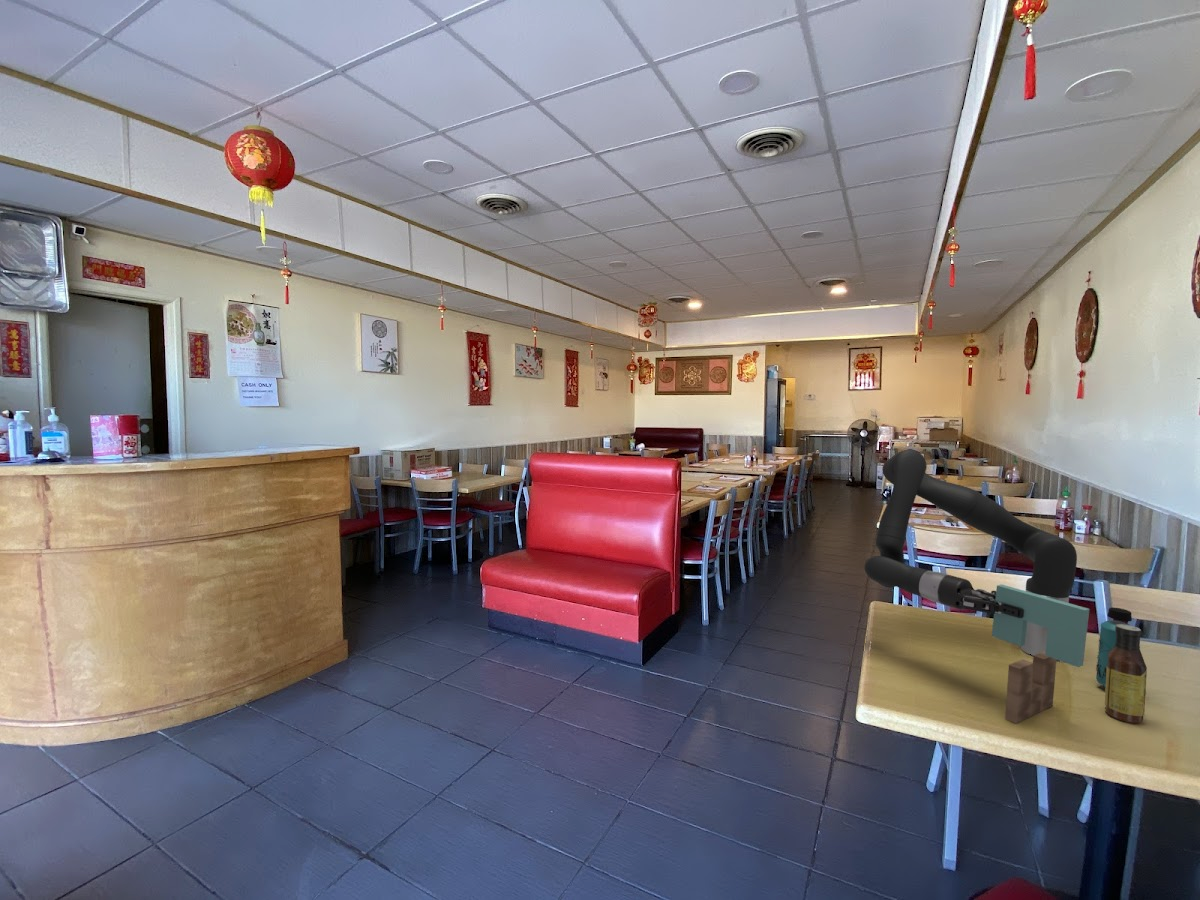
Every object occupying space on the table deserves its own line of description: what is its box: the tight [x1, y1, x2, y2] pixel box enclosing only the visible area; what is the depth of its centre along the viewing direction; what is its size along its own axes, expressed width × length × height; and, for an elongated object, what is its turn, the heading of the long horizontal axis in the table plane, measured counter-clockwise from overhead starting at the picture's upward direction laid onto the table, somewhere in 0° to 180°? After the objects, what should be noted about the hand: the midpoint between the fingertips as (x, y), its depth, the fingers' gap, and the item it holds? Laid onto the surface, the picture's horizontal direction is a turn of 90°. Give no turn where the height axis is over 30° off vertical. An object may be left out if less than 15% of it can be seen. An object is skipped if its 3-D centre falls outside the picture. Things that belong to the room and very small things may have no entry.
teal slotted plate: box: [991, 583, 1090, 668], centre depth 117 cm, size 16×2×12 cm, turn 28°
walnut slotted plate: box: [1004, 651, 1057, 724], centre depth 118 cm, size 16×2×12 cm, turn 118°
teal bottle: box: [1095, 607, 1133, 687], centre depth 128 cm, size 6×7×20 cm
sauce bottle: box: [1104, 624, 1148, 724], centre depth 117 cm, size 7×6×20 cm
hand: (1025, 612), depth 119 cm, fingers closed on teal slotted plate, 2 cm apart
